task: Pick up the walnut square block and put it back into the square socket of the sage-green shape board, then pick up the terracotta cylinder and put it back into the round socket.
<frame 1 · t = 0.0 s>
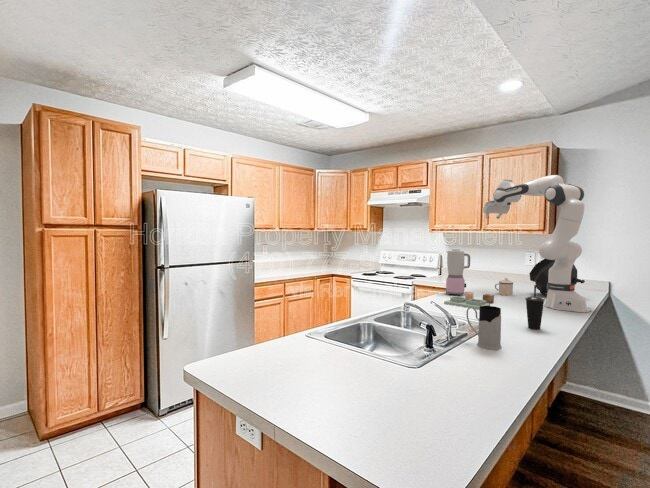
hand: (492, 218, 262), 54 cm above the worktop, tool tilted 30°, fingers open, 8 cm apart
wok: (556, 296, 244), on the worktop
drinking cup: (534, 328, 164), on the worktop
square piece: (488, 302, 222), on the worktop
shape board: (466, 305, 215), on the worktop
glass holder: (482, 344, 140), on the worktop
teacup with lid: (503, 294, 252), on the worktop
blender: (457, 295, 250), on the worktop
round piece: (469, 300, 231), on the worktop
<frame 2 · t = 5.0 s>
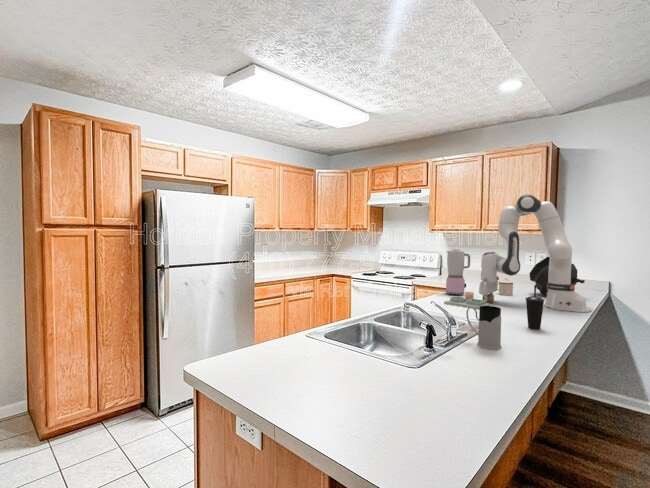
hand: (488, 300, 222), 2 cm above the worktop, tool pointing down, fingers closed on square piece, 5 cm apart
square piece: (488, 302, 222), on the worktop, touching gripper
everything else where it was.
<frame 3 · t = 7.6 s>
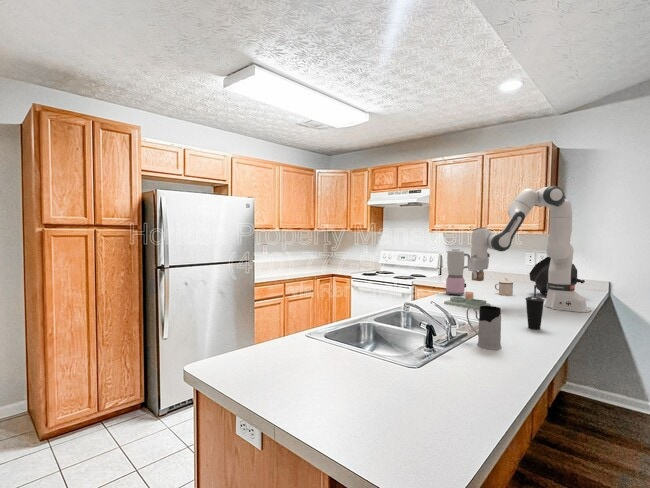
hand: (477, 277, 213), 17 cm above the worktop, tool pointing down, fingers closed on square piece, 5 cm apart
square piece: (477, 280, 213), point 15 cm above the worktop, touching gripper
everything else where it was.
when the fingers open (5 cm above the worktop, at t = 10.5 s): square piece drops 1 cm, resting on shape board.
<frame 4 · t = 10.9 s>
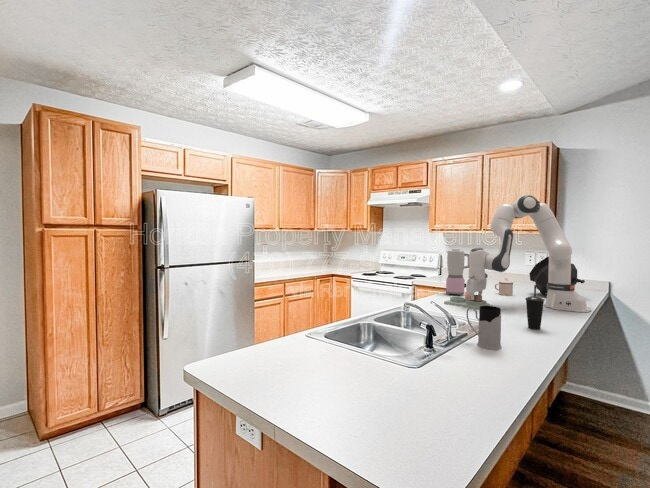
hand: (476, 298, 211), 5 cm above the worktop, tool pointing down, fingers open, 8 cm apart
square piece: (475, 303, 211), point 1 cm above the worktop, touching shape board
everything else where it was.
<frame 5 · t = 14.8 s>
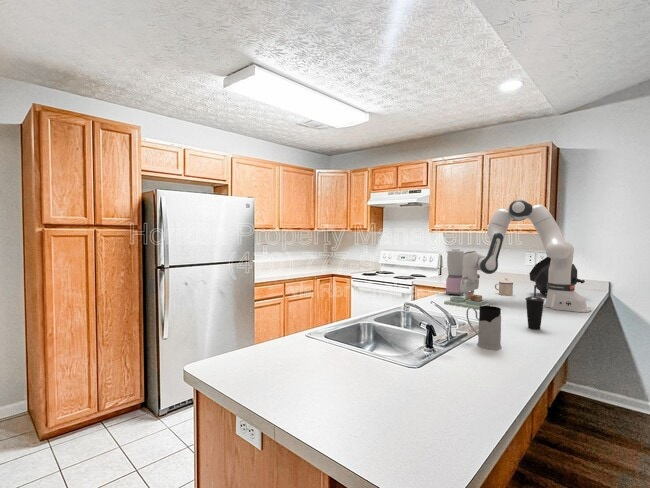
hand: (469, 297, 231), 2 cm above the worktop, tool pointing down, fingers closed on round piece, 5 cm apart
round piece: (469, 299, 231), on the worktop, touching gripper
everything else where it was.
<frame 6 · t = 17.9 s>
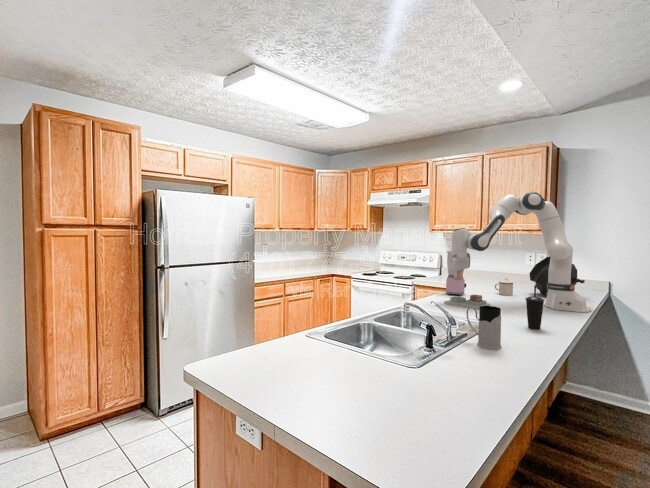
hand: (458, 277, 219), 16 cm above the worktop, tool pointing down, fingers closed on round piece, 5 cm apart
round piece: (458, 279, 219), point 15 cm above the worktop, touching gripper
everything else where it was.
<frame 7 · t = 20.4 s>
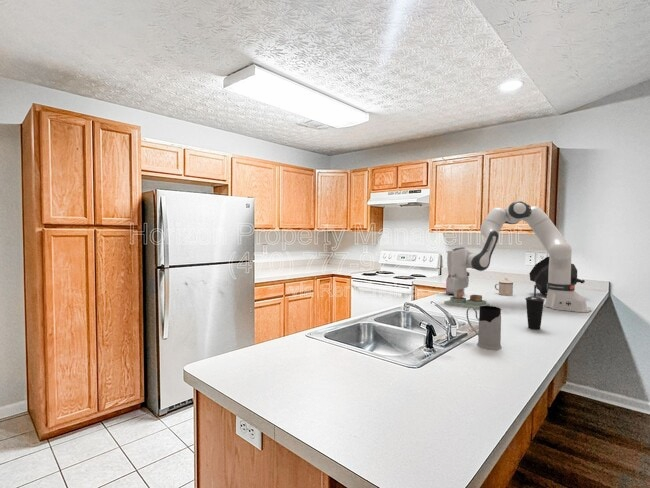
hand: (458, 296, 219), 5 cm above the worktop, tool pointing down, fingers closed on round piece, 5 cm apart
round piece: (458, 298, 219), point 3 cm above the worktop, touching gripper
everything else where it was.
when the fingers open (5 cm above the worktop, at t = 20.6 s): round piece drops 1 cm, resting on shape board.
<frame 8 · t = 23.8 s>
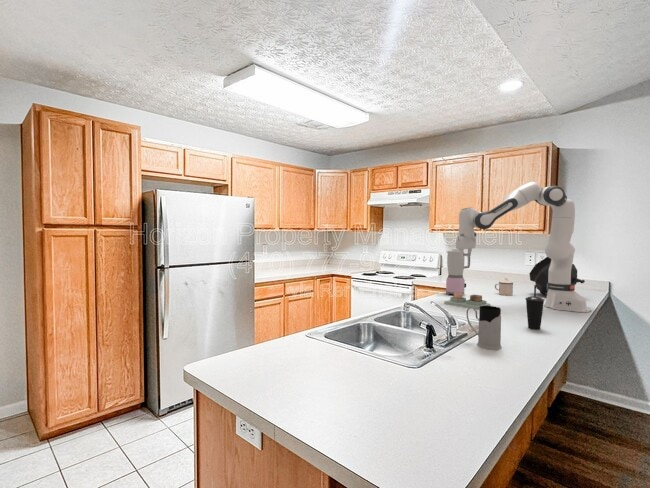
hand: (465, 256, 221), 29 cm above the worktop, tool pointing down, fingers open, 8 cm apart
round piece: (458, 301, 219), point 1 cm above the worktop, touching shape board
everything else where it was.
at the end: square piece 0.1 cm from the target spot on the shape board, point 1.5 cm above the shape board's base; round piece 0.0 cm from the target spot on the shape board, point 1.5 cm above the shape board's base; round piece tilted 0° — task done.
